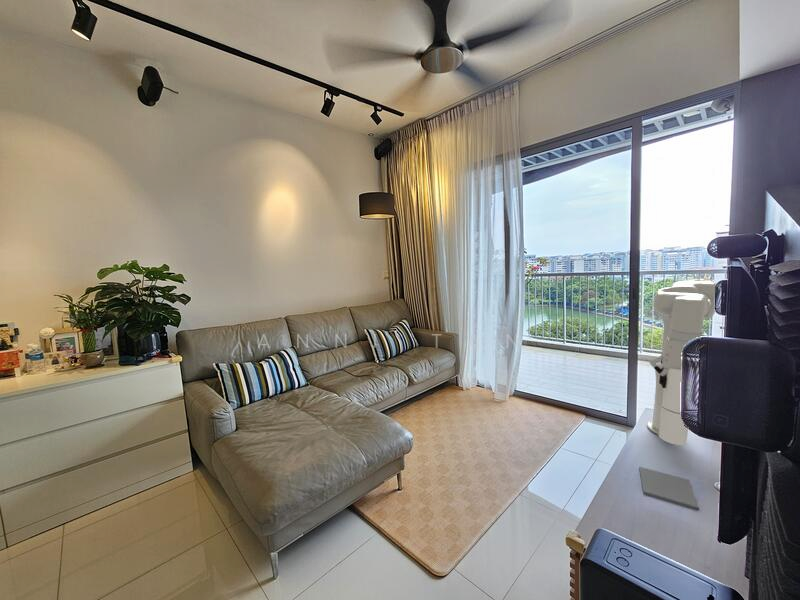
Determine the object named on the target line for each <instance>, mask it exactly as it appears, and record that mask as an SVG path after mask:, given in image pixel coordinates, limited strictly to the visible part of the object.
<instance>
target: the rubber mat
mask: <svg viewBox="0 0 800 600" xmlns="http://www.w3.org/2000/svg"><path fill="white" fill-rule="evenodd" d="M638 469H639V475H640V481H641V487H642V488H643V489H642V494H644V493H645V494H644V495H647V494H648V495H647V496H651V495H652V496H651V497H654V498H658V499H661V500H664V501H668V502H670V503H675V504H677V505H681V506H685V507H687V508H692V509H695V510H699V509H700V507H699V504H698V501H697V498H696V496H695V493H694V490H693V487H692V484H691V481H690V479H688V478H684V477H681V476H677V475H676V476H675V475H672V474H669V473H666V472H665V473H664V472H662V471H661V472H660V471H658V470H654V469H651V468H645V467H642V466H639V468H638Z"/></svg>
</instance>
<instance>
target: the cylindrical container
mask: <svg viewBox="0 0 800 600" xmlns="http://www.w3.org/2000/svg"><path fill="white" fill-rule="evenodd" d="M680 382H681V369H674V368H670V369H669V370H668V372H667V373H666V386H665V388H664V393H663V401H662V410H661V419H660V427H659V435H658V437H659V438H660V439H661V440H662V441H664V442H667V443H669V444H672V445H676V446H684V445H686V444H687V441H688V432H689V428H688V429H687V428H686V427H685V426H684V424H683V421H682V419H681V415H680Z"/></svg>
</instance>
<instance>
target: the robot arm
mask: <svg viewBox="0 0 800 600" xmlns="http://www.w3.org/2000/svg"><path fill="white" fill-rule="evenodd" d="M716 284H717V283H715V282H713V281H706V280H705V281H702V280H701V281H700V280H699V281H698V280H678V281H675V282H673V283H672V284H671V285H670V287H669V286H668V287H663V288H660V289H658V290H657V291H656V292H655V294H654V298H653V309H654V311H655V312H656V313H657V314H659V315H660V317H661V320H662V323H663V332H662V333H663V334H662V342H661V354H660V355H659V356H657V357H655V358H653V359H651V360H649V364H650V365H651V367H653V369H654V371H655V393H654V400H653V410H652V419H651V421H650V420H649V421H648V422H647V423H646V425H647V428H648V429H649V431H651V432H652V433H654V434H655V435H658V436H659V427H660V419H661V410H662V401H663V393H664V388H665V386H666V373H667V372H668V370H669V369H670V368H674V369H681V351H682V348H683V346H684V345H685V344H686V343H687V342H688V341H689V340H691V339H694V338H696V337H700V336H708V334H707V333H703V332H702V331H703V324H704V320H706V319H711V318H713V317H714V315H715V313H716V310H715V311H714V298H715V286H716Z"/></svg>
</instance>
